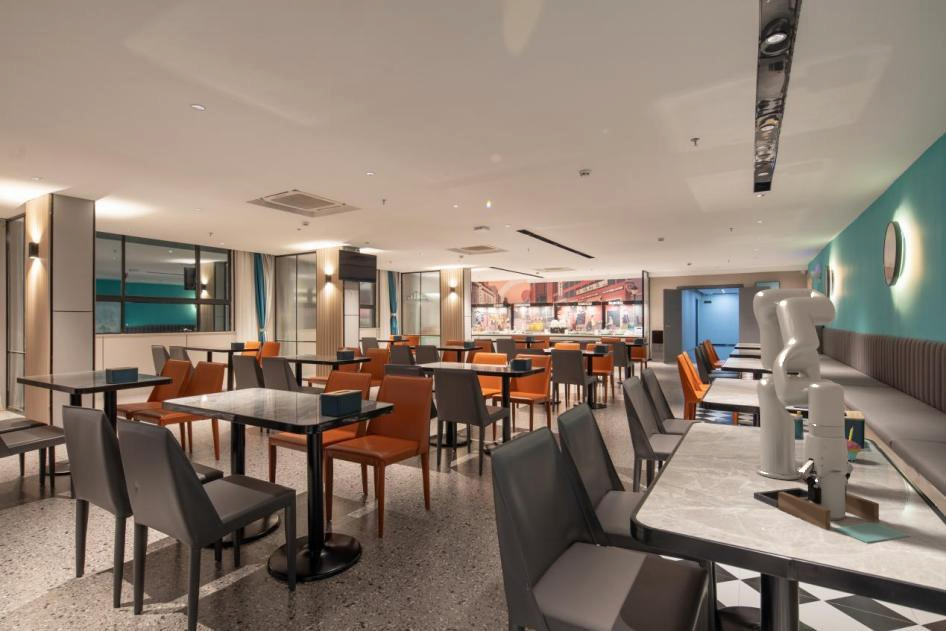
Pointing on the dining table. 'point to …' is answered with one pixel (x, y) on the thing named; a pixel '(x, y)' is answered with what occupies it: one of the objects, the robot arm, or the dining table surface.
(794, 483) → the dining table surface
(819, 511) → the wooden corridor walls
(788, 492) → the tray
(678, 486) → the dining table surface
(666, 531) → the dining table surface
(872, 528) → the pad
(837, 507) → the can
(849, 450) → the cupcake
